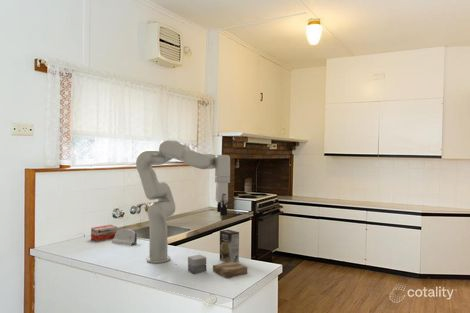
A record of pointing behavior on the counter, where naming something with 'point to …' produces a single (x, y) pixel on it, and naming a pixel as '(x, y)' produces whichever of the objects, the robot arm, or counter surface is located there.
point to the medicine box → (103, 232)
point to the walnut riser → (230, 269)
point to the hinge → (125, 237)
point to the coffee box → (229, 246)
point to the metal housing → (197, 264)
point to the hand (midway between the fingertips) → (222, 213)
